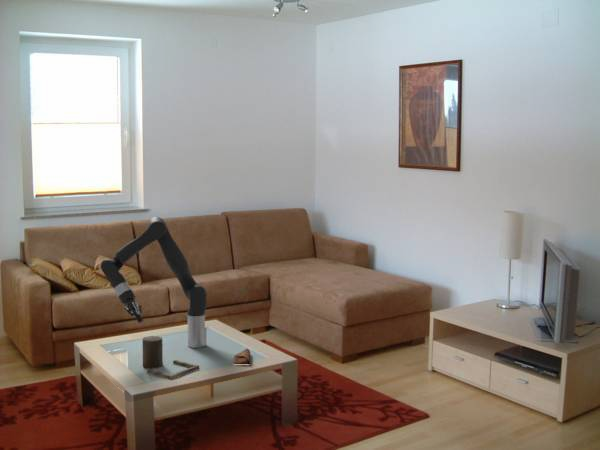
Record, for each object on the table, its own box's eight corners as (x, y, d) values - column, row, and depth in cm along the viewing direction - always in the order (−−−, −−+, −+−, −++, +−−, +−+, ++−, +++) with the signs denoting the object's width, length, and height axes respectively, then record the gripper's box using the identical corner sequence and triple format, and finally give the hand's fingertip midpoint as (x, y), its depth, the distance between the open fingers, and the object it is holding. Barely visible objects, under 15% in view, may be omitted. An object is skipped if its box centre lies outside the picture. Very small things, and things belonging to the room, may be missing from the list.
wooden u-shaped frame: (147, 372, 340) (147, 369, 339) (175, 362, 355) (175, 359, 355) (171, 379, 331) (171, 376, 331) (199, 368, 346) (199, 365, 346)
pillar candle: (156, 369, 345) (156, 339, 343) (138, 367, 348) (138, 337, 346) (166, 363, 354) (166, 334, 352) (149, 361, 357) (148, 332, 355)
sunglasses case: (233, 354, 368) (240, 344, 368) (245, 361, 369) (251, 350, 369) (232, 366, 351) (239, 354, 350) (245, 373, 352) (252, 361, 351)
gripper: (126, 297, 369) (142, 325, 364) (112, 297, 356) (128, 326, 352) (137, 289, 367) (153, 317, 363) (123, 289, 355) (139, 318, 350)
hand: (141, 321), depth 357 cm, fingers closed
